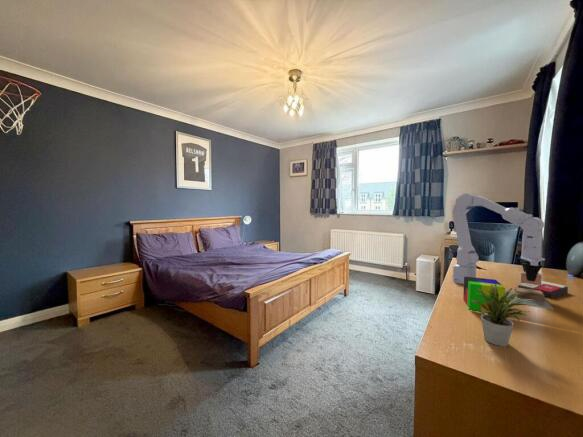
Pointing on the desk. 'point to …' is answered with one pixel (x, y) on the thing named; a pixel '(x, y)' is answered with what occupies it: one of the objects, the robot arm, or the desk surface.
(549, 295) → the calculator
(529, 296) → the walnut base brick
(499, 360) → the desk surface
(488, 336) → the house plant
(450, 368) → the desk surface
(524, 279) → the terracotta brick
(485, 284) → the puzzle toy
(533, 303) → the baseplate
